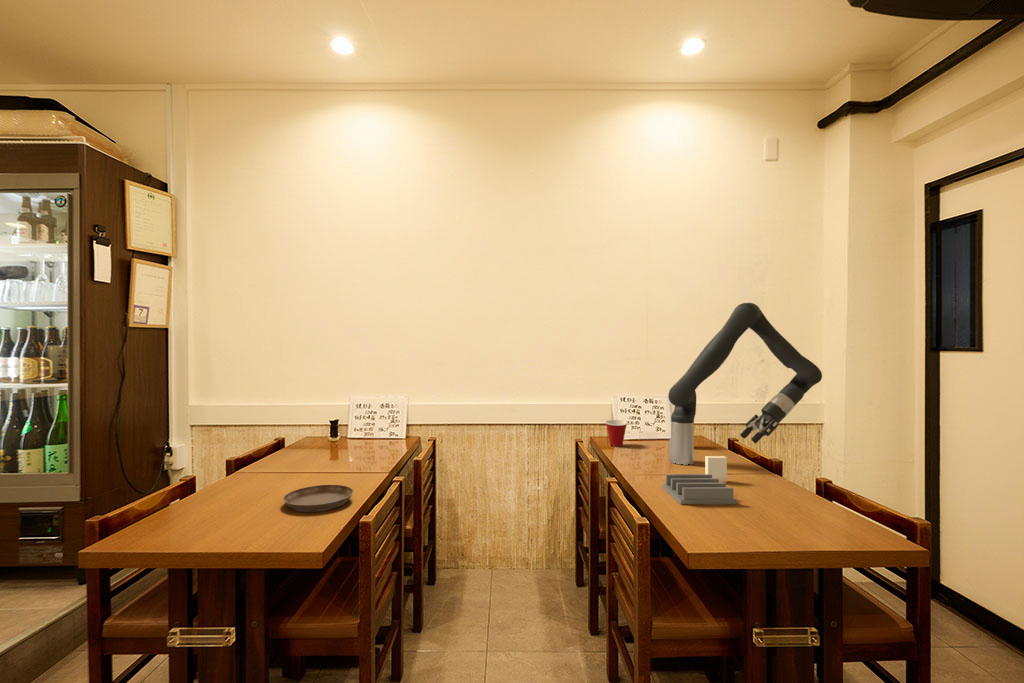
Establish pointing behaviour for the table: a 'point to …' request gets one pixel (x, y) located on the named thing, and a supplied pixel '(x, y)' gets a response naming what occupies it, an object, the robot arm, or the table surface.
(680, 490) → the dish rack
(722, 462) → the tall cream block
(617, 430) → the plastic cup
